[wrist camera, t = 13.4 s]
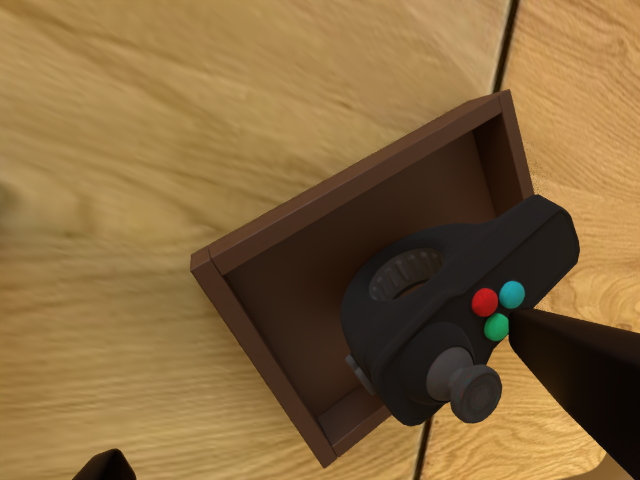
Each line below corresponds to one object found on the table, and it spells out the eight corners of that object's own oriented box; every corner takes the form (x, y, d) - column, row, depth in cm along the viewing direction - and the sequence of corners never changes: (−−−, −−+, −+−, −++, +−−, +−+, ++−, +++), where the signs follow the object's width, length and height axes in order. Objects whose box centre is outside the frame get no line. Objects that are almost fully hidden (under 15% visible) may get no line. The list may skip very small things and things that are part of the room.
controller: (296, 302, 19) (393, 418, 10) (445, 182, 21) (636, 183, 12) (334, 351, 20) (448, 491, 11) (468, 234, 23) (655, 270, 14)
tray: (306, 431, 21) (324, 469, 19) (190, 254, 17) (189, 269, 14) (516, 272, 26) (556, 283, 23) (468, 100, 22) (510, 88, 19)
